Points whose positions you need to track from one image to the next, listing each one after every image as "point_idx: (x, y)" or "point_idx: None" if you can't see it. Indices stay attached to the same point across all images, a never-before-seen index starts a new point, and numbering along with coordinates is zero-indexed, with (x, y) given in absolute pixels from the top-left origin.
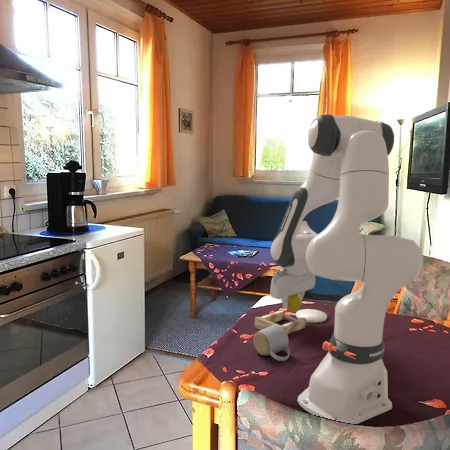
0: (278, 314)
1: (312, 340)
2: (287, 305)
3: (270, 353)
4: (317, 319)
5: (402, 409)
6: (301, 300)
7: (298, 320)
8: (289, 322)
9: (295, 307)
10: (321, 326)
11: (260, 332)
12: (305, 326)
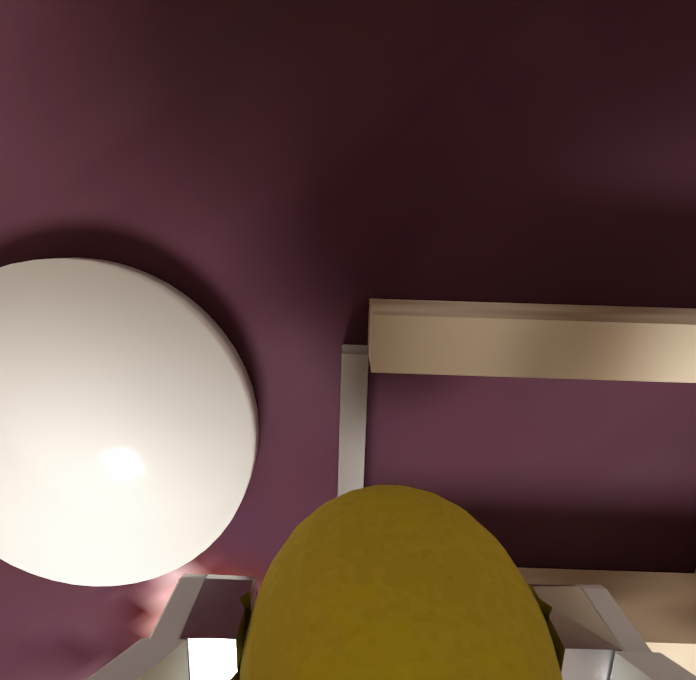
0: None
1: (637, 10)
2: (611, 619)
3: None
4: (143, 298)
5: None
6: (188, 611)
7: (505, 339)
8: (646, 375)
9: (462, 515)
10: (219, 189)
11: None
12: (374, 299)
